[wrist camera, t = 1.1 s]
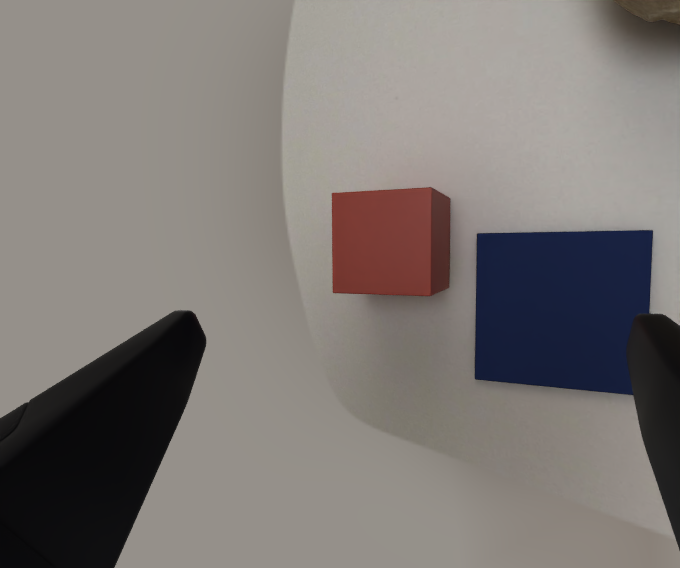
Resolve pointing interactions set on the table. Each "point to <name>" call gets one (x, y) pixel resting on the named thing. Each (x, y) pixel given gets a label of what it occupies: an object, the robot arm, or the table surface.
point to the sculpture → (653, 9)
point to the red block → (391, 242)
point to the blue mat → (560, 307)
